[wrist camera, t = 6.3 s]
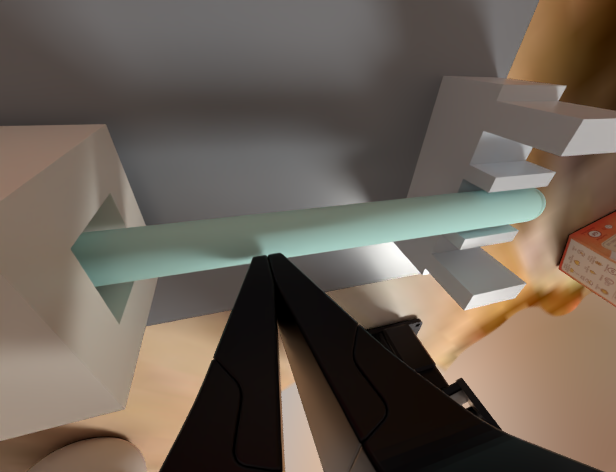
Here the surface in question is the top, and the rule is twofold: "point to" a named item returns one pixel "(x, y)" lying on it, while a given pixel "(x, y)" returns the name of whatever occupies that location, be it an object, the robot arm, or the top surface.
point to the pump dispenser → (94, 457)
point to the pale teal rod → (292, 233)
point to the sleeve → (63, 279)
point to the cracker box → (593, 257)
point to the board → (301, 119)
